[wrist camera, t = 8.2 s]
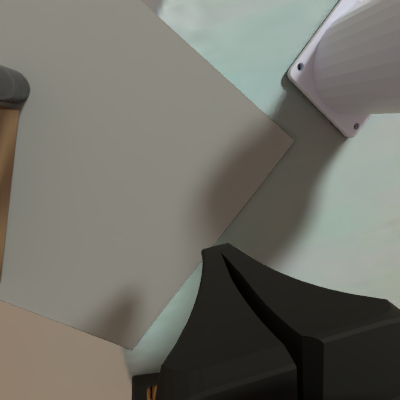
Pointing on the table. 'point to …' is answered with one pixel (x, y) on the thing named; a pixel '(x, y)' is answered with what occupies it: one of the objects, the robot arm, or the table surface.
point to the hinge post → (13, 86)
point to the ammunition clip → (144, 386)
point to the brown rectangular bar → (6, 167)
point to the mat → (119, 163)
